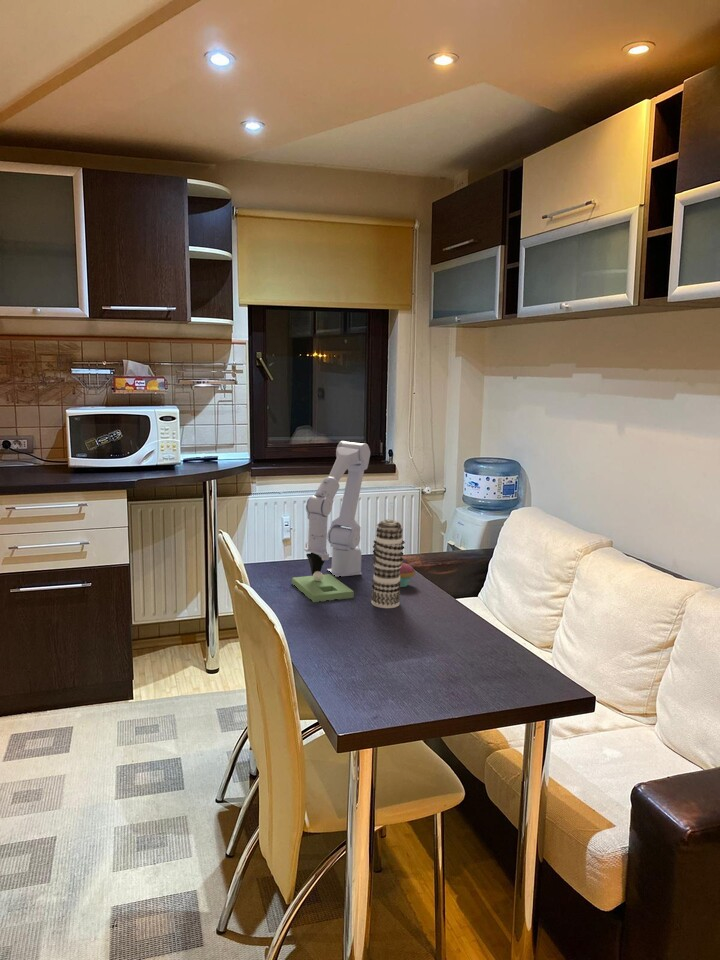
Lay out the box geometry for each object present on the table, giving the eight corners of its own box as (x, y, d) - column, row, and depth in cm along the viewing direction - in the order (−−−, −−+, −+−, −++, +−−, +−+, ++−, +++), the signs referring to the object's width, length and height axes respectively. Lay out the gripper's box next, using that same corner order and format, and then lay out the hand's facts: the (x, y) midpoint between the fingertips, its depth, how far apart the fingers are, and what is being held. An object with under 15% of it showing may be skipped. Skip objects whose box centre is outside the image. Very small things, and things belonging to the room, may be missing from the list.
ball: (320, 576, 228) (321, 568, 226) (323, 582, 225) (325, 574, 224) (310, 578, 226) (311, 569, 225) (314, 584, 224) (315, 575, 222)
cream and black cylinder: (401, 609, 209) (406, 526, 205) (369, 607, 209) (374, 524, 205) (400, 599, 218) (405, 518, 214) (370, 597, 218) (374, 517, 214)
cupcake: (382, 581, 234) (384, 546, 232) (405, 579, 238) (408, 544, 235) (395, 590, 226) (397, 553, 224) (418, 587, 230) (421, 551, 228)
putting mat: (329, 579, 233) (329, 573, 233) (353, 597, 217) (353, 591, 217) (291, 583, 228) (292, 577, 227) (313, 602, 212) (313, 595, 211)
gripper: (297, 529, 229) (295, 570, 231) (314, 541, 216) (312, 584, 218) (317, 528, 232) (316, 568, 234) (336, 539, 219) (333, 582, 221)
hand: (315, 576), depth 226 cm, fingers closed, pressing on ball
